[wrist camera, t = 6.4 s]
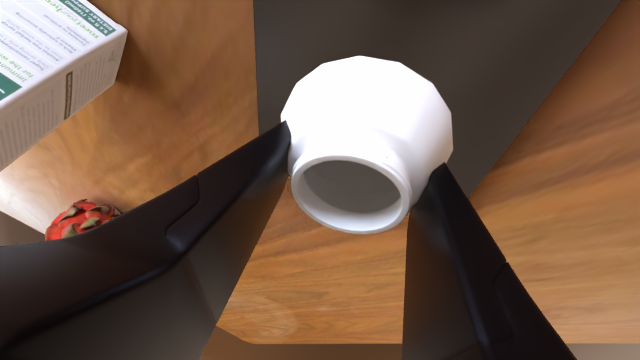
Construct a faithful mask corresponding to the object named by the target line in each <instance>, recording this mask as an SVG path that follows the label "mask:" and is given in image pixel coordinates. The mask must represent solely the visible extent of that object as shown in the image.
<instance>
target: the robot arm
mask: <svg viewBox="0 0 640 360" xmlns="http://www.w3.org/2000/svg"><path fill="white" fill-rule="evenodd" d="M290 142H291V132H290V129H289V126H288V124H287V121H286V120H284V121H283V122H281V123H279V124H278V125H276V126H274V127H273V128H271V129H270V130H268V131H266V132H265V133H263V134H261V135H260V136H258V137H257V138H255V139H253V140H252V141H250V142H248V143H247V144H245V145H243V146H242V147H240V148H239V149H237V150H235V151H234V152H232V153H230V154H229V155H227V156H225V157H224V158H222V159H221V160H219V161H217V162H216V163H214V164H212V165H211V166H209V167H207V168H206V169H204V170H203V171H201V172H199V173H198V174H197V175H194V176H193V177H191V178H189V179H188V180H186V181H184V182H183V183H181V184H179V185H178V186H176V187H174V188H172V189H171V190H169V191H167V192H165V193H163V194H161V195H159V196H158V197H156V198H154V199H152V200H150V201H148V202H146V203H144V204H142V205H140V206H138V207H136V208H134V209H132V210H130V211H128V212H126V213H124V214H122V215H119V216H117V217H115V218H113V219H111V220H109V221H107V222H105V223H103V224H101V225H99V226H97V227H95V228H93V229H90V230H88V231H85V232H83V233H80V234H77V235H74V236H70V237H66V238H62V239H56V240H48V241H40V242H33V243H23V244H15V245H7V246H0V360H199V358H200V356H201V354H202V352H203V350H204V348H205V346H206V344H207V342H208V340H209V338H210V336H211V334H212V332H213V330H214V328H215V326H216V324H217V322H218V320H219V318H220V316H221V314H222V312H223V310H224V308H225V306H226V304H227V302H228V300H229V298H230V296H231V294H232V292H233V290H234V288H235V286H236V284H237V282H238V280H239V278H240V276H241V274H242V272H243V270H244V268H245V266H246V264H247V262H248V260H249V258H250V256H251V254H252V252H253V250H254V248H255V246H256V244H257V242H258V240H259V238H260V236H261V234H262V232H263V230H264V228H265V226H266V224H267V222H268V220H269V218H270V216H271V214H272V212H273V210H274V208H275V206H276V204H277V202H278V200H279V198H280V196H281V194H282V192H283V189H284V187H285V184H286V181H287V178H288V175H289V173H288V151H289V146H290ZM505 262H506V258H505V257H504V255H503V254H502V252H501V250H500V249H499V247H498V246H497V244H496V243H495V241H494V239H493V238H492V236H491V235H490V233H489V231H488V230H487V228H486V227H485V225H484V224H483V222H482V220H481V219H480V217H479V216H478V214H477V212H476V211H475V209H474V208H473V206H472V204H471V203H470V201H469V200H468V198H467V197H466V195H465V193H464V192H463V190H462V189H461V187H460V185H459V184H458V182H457V181H456V179H455V177H454V176H453V174H452V173H451V171H450V170H449V168H448V166H447V165H446V163H445V162H443V163H442V164H441V165H440V166H438V167H437V168H436V169H434V170H433V171H432V173H431V174H430V177H429V181H428V184H427V185H426V187H425V189H424V191H423V193H422V195H421V196H420V198H419V200H418V202H417V203H416V204H415V205H413V206H412V207H411V210H410V215H409V221H408V229H407V248H406V271H405V295H404V318H403V341H402V360H577V359H576V358H575V356H574V355H573V354H572V352H571V351H570V350H569V348H568V347H567V346H566V344H565V343H564V342H563V340H562V339H561V338H560V336H559V335H558V334H557V332H556V331H555V330H554V328H553V327H552V326H551V324H550V323H549V322H548V320H547V319H546V318H545V316H544V315H543V313H542V312H541V311H540V309H539V308H538V306H537V305H536V304H535V302H534V301H533V300H532V298H531V297H530V295H529V294H528V292H527V291H526V289H525V288H524V286H523V285H522V283H521V282H520V280H519V279H518V277H517V276H516V274H515V273H514V271H513V269H512V268H511V266H510V265H509V263H508V262H506V263H505Z"/></svg>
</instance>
